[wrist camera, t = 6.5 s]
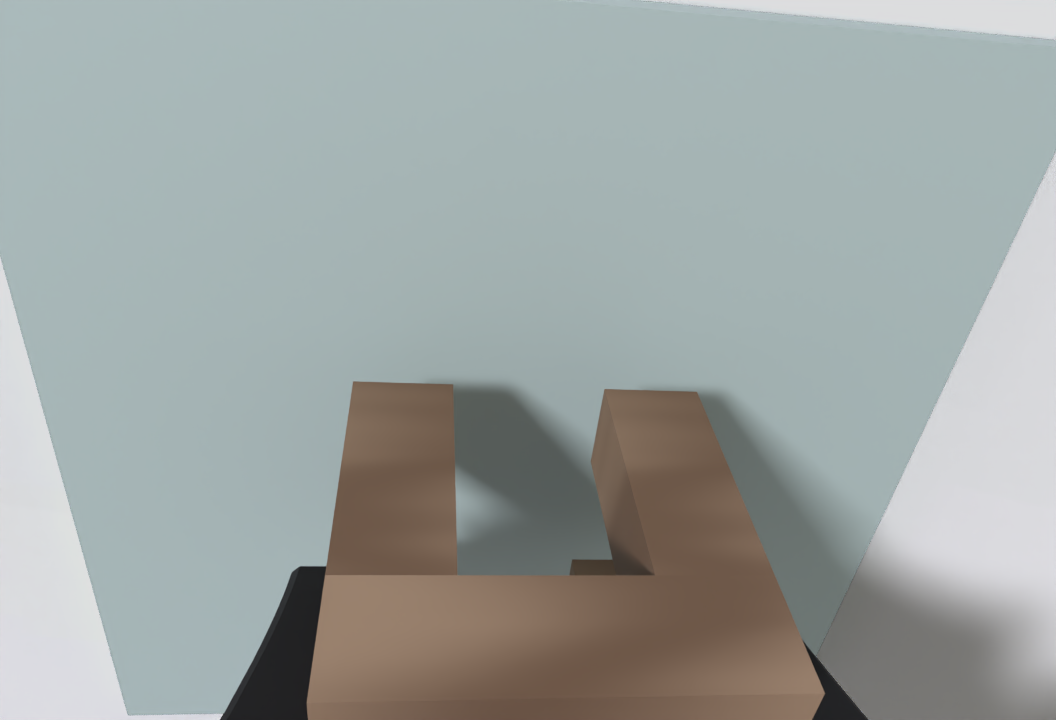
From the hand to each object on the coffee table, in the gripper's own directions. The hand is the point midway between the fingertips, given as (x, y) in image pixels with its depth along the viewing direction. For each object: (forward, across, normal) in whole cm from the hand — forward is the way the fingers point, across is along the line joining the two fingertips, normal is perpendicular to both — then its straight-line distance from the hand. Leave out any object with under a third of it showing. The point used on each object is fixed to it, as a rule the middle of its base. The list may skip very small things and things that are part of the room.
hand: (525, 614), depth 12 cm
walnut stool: (+2, 0, 0) cm, 2 cm away
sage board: (+4, 0, 0) cm, 4 cm away
